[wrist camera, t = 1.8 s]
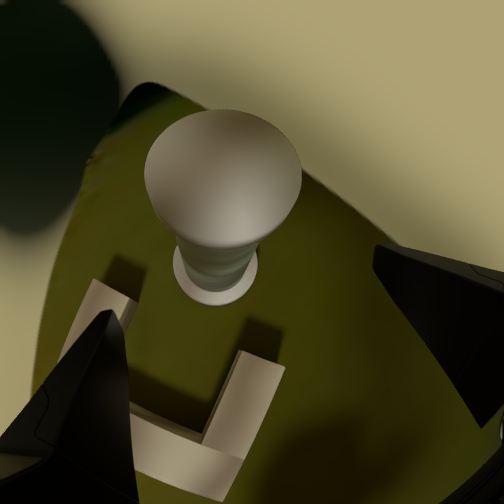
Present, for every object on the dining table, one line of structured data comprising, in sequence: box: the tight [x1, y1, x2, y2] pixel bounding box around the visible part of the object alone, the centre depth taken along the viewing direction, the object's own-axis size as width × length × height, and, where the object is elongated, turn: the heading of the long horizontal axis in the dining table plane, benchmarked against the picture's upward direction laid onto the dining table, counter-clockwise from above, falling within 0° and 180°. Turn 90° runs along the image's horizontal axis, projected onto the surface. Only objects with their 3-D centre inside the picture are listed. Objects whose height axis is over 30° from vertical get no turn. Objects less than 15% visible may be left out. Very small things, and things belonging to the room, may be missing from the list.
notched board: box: [57, 279, 285, 502], centre depth 17 cm, size 14×11×2 cm
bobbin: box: [144, 110, 302, 306], centre depth 16 cm, size 6×6×13 cm
